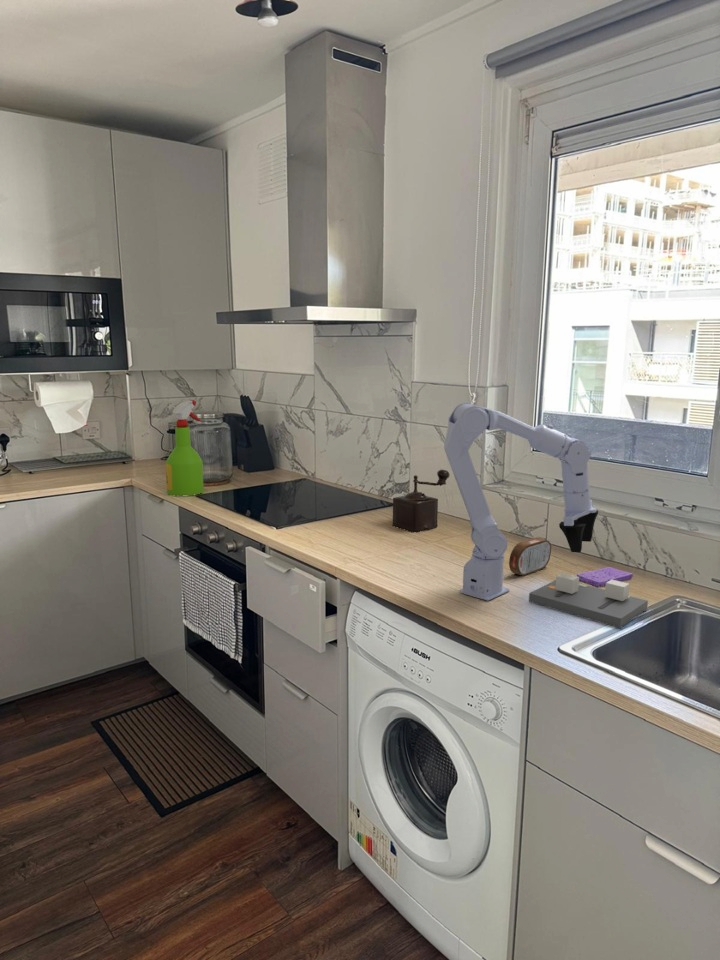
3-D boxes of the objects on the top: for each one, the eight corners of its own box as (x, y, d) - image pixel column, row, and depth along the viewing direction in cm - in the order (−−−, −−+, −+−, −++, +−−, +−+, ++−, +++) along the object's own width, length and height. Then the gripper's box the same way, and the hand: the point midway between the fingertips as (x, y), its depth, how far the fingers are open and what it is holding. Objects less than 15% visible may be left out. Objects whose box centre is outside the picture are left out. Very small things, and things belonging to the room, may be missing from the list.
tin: (542, 564, 182) (544, 533, 181) (552, 567, 180) (554, 536, 178) (507, 576, 173) (508, 544, 171) (517, 579, 170) (519, 546, 169)
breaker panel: (620, 627, 142) (621, 618, 141) (528, 601, 156) (529, 592, 155) (647, 609, 152) (647, 600, 151) (558, 586, 166) (559, 577, 165)
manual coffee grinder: (416, 533, 211) (417, 475, 208) (391, 526, 219) (392, 470, 216) (450, 525, 221) (452, 469, 217) (425, 518, 229) (427, 465, 226)
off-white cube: (571, 593, 154) (572, 580, 154) (555, 589, 157) (556, 576, 156) (578, 590, 156) (579, 576, 156) (561, 586, 159) (562, 572, 158)
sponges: (575, 581, 171) (576, 573, 171) (609, 572, 178) (609, 565, 177) (599, 589, 165) (599, 582, 165) (632, 580, 172) (633, 573, 171)
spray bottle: (217, 488, 274) (214, 400, 267) (189, 498, 258) (185, 403, 251) (189, 485, 279) (185, 398, 272) (159, 494, 263) (155, 402, 256)
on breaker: (622, 601, 150) (623, 587, 149) (604, 596, 153) (605, 582, 152) (628, 597, 152) (629, 583, 151) (610, 593, 155) (611, 579, 154)
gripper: (583, 499, 151) (589, 558, 154) (603, 482, 162) (607, 537, 165) (552, 498, 155) (557, 555, 158) (573, 482, 166) (578, 535, 169)
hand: (581, 546), depth 162 cm, fingers open, 7 cm apart
